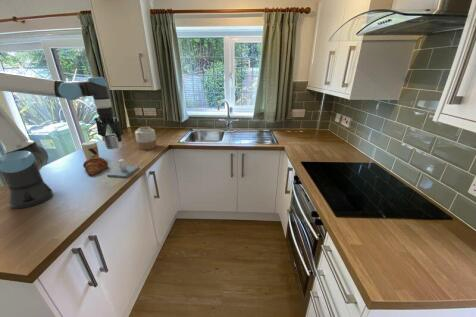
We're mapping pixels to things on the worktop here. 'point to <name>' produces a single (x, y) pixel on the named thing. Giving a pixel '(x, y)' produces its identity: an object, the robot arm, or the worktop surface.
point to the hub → (111, 141)
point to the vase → (145, 138)
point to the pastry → (95, 166)
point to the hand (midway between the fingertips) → (114, 146)
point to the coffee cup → (90, 149)
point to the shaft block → (123, 170)
